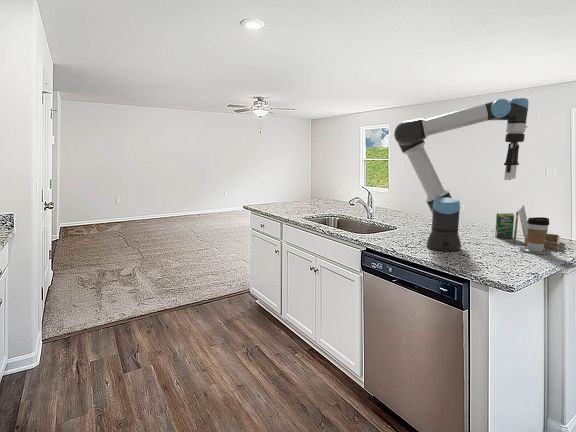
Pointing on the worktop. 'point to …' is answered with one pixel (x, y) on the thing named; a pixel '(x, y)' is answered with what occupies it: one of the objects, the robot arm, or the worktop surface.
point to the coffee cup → (537, 233)
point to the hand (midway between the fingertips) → (509, 179)
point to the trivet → (544, 252)
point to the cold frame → (524, 227)
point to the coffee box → (504, 225)
